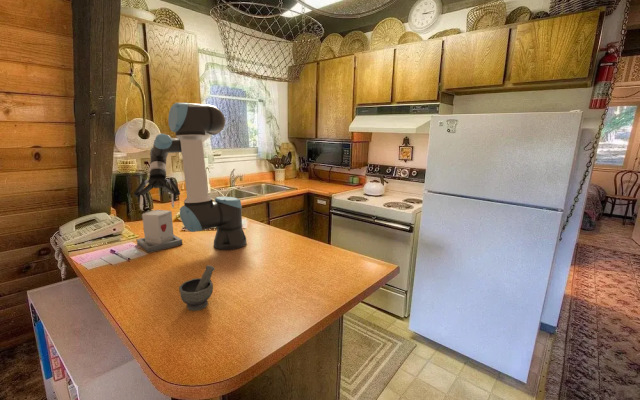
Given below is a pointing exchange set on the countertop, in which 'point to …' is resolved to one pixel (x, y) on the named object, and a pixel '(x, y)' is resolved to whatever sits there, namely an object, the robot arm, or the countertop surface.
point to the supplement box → (158, 227)
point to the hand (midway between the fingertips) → (157, 207)
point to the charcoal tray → (153, 248)
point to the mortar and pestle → (197, 290)
